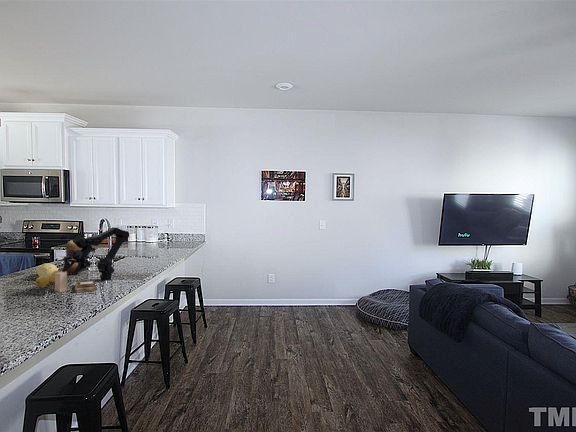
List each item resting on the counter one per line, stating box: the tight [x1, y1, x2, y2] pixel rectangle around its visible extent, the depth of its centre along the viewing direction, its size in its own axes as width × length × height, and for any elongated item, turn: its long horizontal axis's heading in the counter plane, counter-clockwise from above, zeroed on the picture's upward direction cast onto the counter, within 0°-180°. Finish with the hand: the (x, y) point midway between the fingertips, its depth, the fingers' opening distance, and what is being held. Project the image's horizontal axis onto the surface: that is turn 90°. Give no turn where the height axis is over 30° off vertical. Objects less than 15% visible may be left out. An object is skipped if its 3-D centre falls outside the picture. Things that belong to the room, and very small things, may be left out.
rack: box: [74, 280, 97, 296], centre depth 227 cm, size 11×21×3 cm, turn 29°
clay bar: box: [54, 271, 68, 293], centre depth 220 cm, size 4×4×12 cm
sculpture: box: [36, 262, 59, 278], centre depth 255 cm, size 12×12×11 cm
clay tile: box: [79, 281, 93, 284], centre depth 233 cm, size 7×5×2 cm
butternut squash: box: [63, 240, 83, 275], centre depth 272 cm, size 14×13×25 cm
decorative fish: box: [35, 270, 68, 289], centre depth 237 cm, size 22×3×10 cm, turn 168°
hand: (68, 272), depth 224 cm, fingers open, 9 cm apart
